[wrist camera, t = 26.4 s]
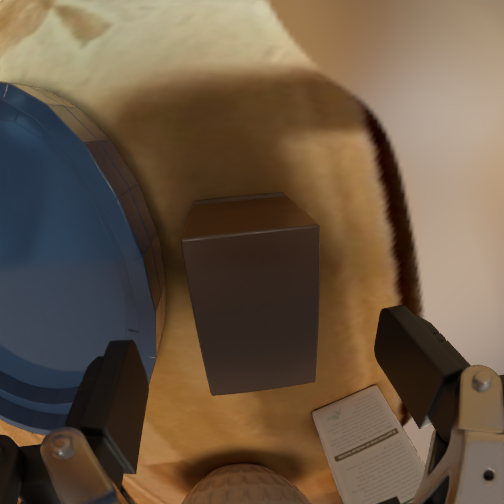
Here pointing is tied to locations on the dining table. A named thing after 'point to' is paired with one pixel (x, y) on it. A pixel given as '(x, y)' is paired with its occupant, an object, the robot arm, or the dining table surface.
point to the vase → (244, 487)
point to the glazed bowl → (68, 257)
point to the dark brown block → (254, 290)
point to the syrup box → (368, 449)
